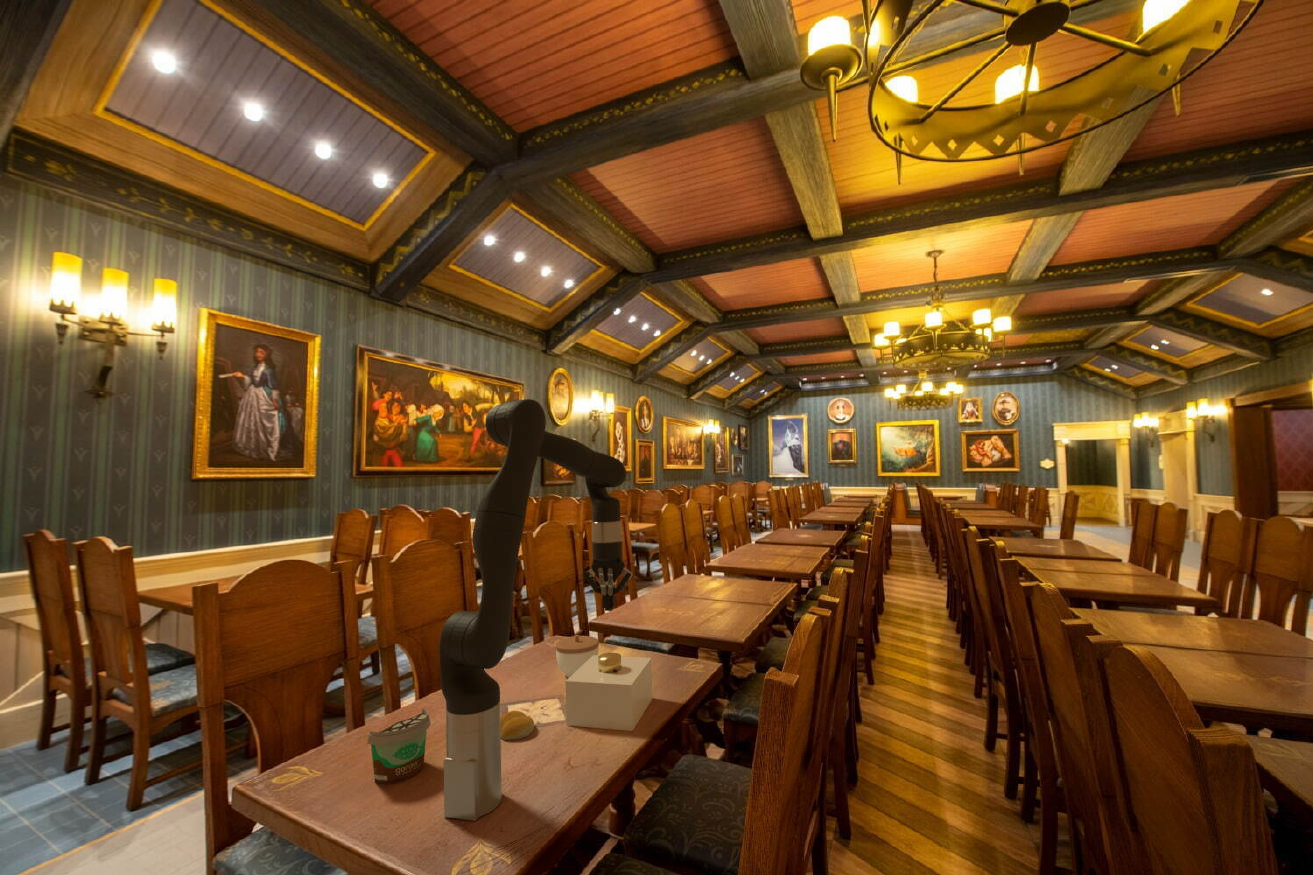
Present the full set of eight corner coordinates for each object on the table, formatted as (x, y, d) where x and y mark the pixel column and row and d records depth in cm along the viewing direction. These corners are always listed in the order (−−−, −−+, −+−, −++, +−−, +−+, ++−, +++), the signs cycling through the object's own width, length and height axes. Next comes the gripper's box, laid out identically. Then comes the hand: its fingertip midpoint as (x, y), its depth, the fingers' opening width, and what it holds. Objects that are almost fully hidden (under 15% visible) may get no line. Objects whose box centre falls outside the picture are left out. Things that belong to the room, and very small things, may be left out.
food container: (386, 795, 99) (385, 739, 100) (367, 786, 103) (367, 732, 103) (443, 763, 110) (443, 713, 111) (425, 756, 113) (424, 707, 114)
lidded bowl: (596, 681, 151) (595, 641, 152) (551, 682, 151) (551, 642, 152) (601, 665, 164) (600, 628, 164) (560, 666, 164) (559, 629, 164)
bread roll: (508, 745, 117) (507, 726, 117) (490, 732, 124) (489, 714, 124) (541, 732, 122) (541, 714, 123) (522, 719, 129) (522, 702, 129)
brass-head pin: (618, 712, 128) (616, 660, 129) (596, 710, 130) (594, 659, 131) (625, 702, 134) (623, 653, 135) (604, 701, 135) (602, 652, 136)
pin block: (632, 730, 121) (631, 685, 122) (566, 725, 125) (565, 680, 126) (652, 697, 138) (651, 658, 139) (594, 693, 142) (593, 655, 143)
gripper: (576, 541, 133) (578, 613, 131) (627, 541, 129) (630, 614, 128) (587, 537, 140) (589, 605, 139) (636, 537, 137) (638, 607, 135)
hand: (609, 610), depth 133 cm, fingers closed
